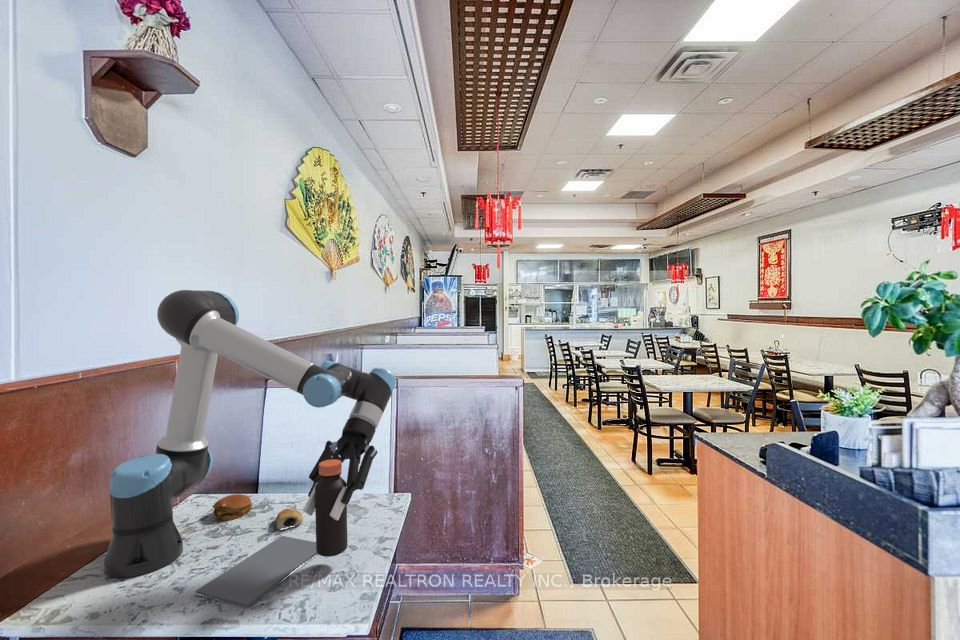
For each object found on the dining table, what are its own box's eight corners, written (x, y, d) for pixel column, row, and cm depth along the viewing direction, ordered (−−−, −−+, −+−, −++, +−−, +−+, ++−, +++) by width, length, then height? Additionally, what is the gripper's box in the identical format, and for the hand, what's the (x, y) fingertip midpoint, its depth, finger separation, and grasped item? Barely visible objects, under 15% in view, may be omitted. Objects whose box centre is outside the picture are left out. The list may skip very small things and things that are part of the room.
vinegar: (311, 557, 103) (309, 468, 102) (322, 542, 109) (320, 458, 109) (342, 557, 103) (340, 467, 102) (351, 541, 109) (349, 457, 109)
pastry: (274, 518, 131) (274, 505, 131) (300, 513, 134) (299, 500, 134) (276, 532, 122) (276, 518, 122) (304, 527, 125) (303, 513, 125)
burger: (254, 504, 140) (253, 489, 140) (248, 518, 131) (248, 501, 131) (217, 509, 137) (217, 494, 137) (209, 523, 128) (208, 507, 128)
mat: (195, 594, 96) (195, 590, 96) (282, 538, 119) (281, 535, 119) (247, 608, 91) (247, 604, 91) (327, 547, 114) (327, 544, 114)
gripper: (401, 434, 116) (365, 528, 101) (337, 428, 123) (294, 515, 108) (390, 418, 111) (350, 515, 96) (323, 413, 118) (276, 502, 103)
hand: (320, 515), depth 102 cm, fingers closed on vinegar, 6 cm apart
